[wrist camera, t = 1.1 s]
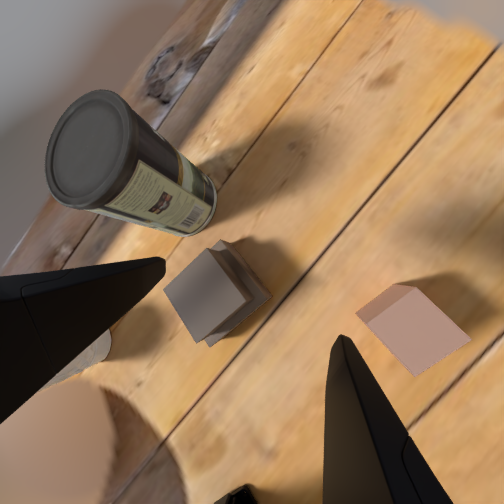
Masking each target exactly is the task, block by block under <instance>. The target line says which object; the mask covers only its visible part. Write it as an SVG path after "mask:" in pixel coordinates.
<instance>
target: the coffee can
mask: <svg viewBox="0 0 504 504" xmlns="http://www.w3.org/2000/svg"><path fill="white" fill-rule="evenodd" d="M45 177H46V182H47V185H48V188H49V191H50V193H51V194H52V196H53V197H54V198H55V200H56V201H58V202H59V203H60V204H62V205H64V206H66V207H70V208H74V209H79V210H88V211H91V212H95V213H98V214H102V215H106V216H109V217H113V218H116V219H120V220H124V221H127V222H131V223H134V224H138V225H142V226H145V227H149V228H153V229H156V230H160V231H164V232H167V233H171V234H173V235H176V236H181V237H186V236H191V235H194V234H196V233H198V232H200V231H201V230H202V229H203V228H204V227H205V226H206V225H207V224H208V223H209V222H210V220H211V218H212V217H213V214H214V212H215V209H216V204H217V194H216V189H215V186H214V184H213V182H212V181H211V179H210V178H209V177H208V176H207V175H205V174H204V173H203V172H202V171H200V170H199V169H198V168H197V167H196V166H195V165H194V164H192V163H191V162H190V161H189V160H188V159H187V158H186V157H184V156H183V155H182V154H181V153H180V152H179V151H178V150H177V149H176V148H174V147H173V146H172V145H171V144H170V143H169V142H168V141H167V140H166V139H164V138H163V137H162V136H161V135H160V134H159V133H158V132H157V131H156V130H154V129H153V128H152V127H151V126H150V125H149V124H148V123H147V122H146V121H145V120H143V119H142V118H141V117H140V116H139V115H138V114H137V113H136V112H135V111H133V110H132V109H131V107H130V106H129V105H128V103H127V102H126V101H125V100H124V99H123V98H122V97H120V96H119V95H118V94H116V93H115V92H112V91H109V90H95V91H91V92H89V93H87V94H85V95H83V96H81V97H80V98H79V99H77V100H76V101H75V102H73V103H72V104H71V105H70V106H69V107H68V108H67V110H66V111H65V112H64V114H63V115H62V116H61V118H60V119H59V121H58V122H57V125H56V126H55V128H54V130H53V132H52V134H51V137H50V140H49V143H48V146H47V151H46V157H45Z"/></svg>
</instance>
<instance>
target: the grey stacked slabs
mask: <svg viewBox="0 0 504 504" xmlns="http://www.w3.org/2000/svg"><path fill="white" fill-rule="evenodd" d="M163 290H164V292H165V294H166V295H167V297H168V298H169V300H170V302H171V303H172V305H173V307H174V308H175V310H176V311H177V313H178V315H179V316H180V318H181V319H182V321H183V323H184V324H185V326H186V328H187V329H188V331H189V332H190V334H191V336H192V337H193V339H194V341H195V342H196V344H197V343H198V342H200V341H202V340H203V339H204V340H205V341H206V343H207V344H208V346H209V347H211V346H213V345H214V344H216V343H217V342H218V341H220V340H221V339H222V338H224V337H225V336H226V335H227V334H228V333H230V332H231V331H232V330H233V329H234V328H236V327H237V326H238V325H239V324H240V323H241V322H243V321H244V320H245V319H246V318H247V317H249V316H250V315H251V314H252V313H253V312H255V311H256V310H257V309H258V308H259V307H261V306H262V305H263V304H264V303H265V302H267V301H268V300H269V299H270V298H271V297H272V295H271V293H270V292H269V291H268V290H267V288H266V287H265V286H264V285H263V283H262V282H261V281H260V280H259V278H258V277H257V276H256V275H255V273H254V272H253V271H252V270H251V268H250V267H249V266H248V265H247V263H246V262H245V261H244V260H243V258H242V257H241V256H240V255H239V253H238V252H237V251H236V250H235V248H234V247H233V246H232V245H231V243H229V242H226V241H223V240H221V239H220V240H219V241H218V242H217V243H216V244H215V245H214V246H213V247H212V248H211V249H209V248H206V249H205V250H204V251H203V252H202V253H201V254H200V255H199V256H198V257H196V258H195V259H194V260H193V261H192V262H191V263H190V264H189V265H188V266H187V267H186V268H185V269H184V270H183V271H182V272H181V273H180V274H179V275H178V276H177V277H176V278H174V279H173V280H172V281H171V282H170V283H169V284H168V285H167V286H166V287H165V288H164V289H163Z"/></svg>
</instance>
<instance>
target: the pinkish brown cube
mask: <svg viewBox="0 0 504 504" xmlns="http://www.w3.org/2000/svg"><path fill="white" fill-rule="evenodd" d="M355 314H356V315H357V316H358V317H359V318H360V319H361V320H362V321H363V323H364V324H365V325H366V326H367V327H368V328H369V329H370V330H371V331H372V332H373V333H374V335H375V336H376V337H377V338H378V339H379V340H380V341H381V342H382V343H383V344H384V346H385V347H386V348H387V349H388V350H389V351H390V352H391V353H392V354H393V355H394V356H395V357H396V358H397V359H398V360H399V361H400V362H401V363H402V364H403V366H404V367H405V368H406V369H407V370H408V371H409V372H410V373H411V374H412V375H413V376H414V377H416V376H417V375H419V374H420V373H422V372H424V371H425V370H427V369H428V368H430V367H431V366H433V365H434V364H436V363H437V362H439V361H440V360H442V359H443V358H445V357H446V356H448V355H449V354H451V353H452V352H454V351H455V350H457V349H459V348H460V347H462V346H463V345H465V344H466V343H468V342H469V341H471V340H472V339H471V338H470V337H469V336H468V335H467V334H466V333H465V332H464V331H462V330H461V329H460V328H459V327H458V326H457V325H456V324H455V323H454V322H453V321H452V320H451V319H450V318H449V317H448V316H447V315H445V314H444V313H443V312H442V311H441V310H440V309H439V308H438V307H437V306H436V305H435V304H434V303H433V302H432V301H431V300H430V299H428V298H427V297H426V296H425V295H424V294H423V293H422V292H421V291H420V290H419V289H418V288H417V287H412V286H405V285H397V284H393V285H392V286H390V287H389V288H388V289H386V290H385V291H384V292H382V293H381V294H380V295H378V296H377V297H376V298H374V299H373V300H372V301H370V302H369V303H368V304H366V305H365V306H364V307H362V308H361V309H360V310H359V311H357V312H356V313H355Z"/></svg>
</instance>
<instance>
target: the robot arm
mask: <svg viewBox="0 0 504 504" xmlns="http://www.w3.org/2000/svg"><path fill="white" fill-rule="evenodd" d="M165 273H166V261H165V259H163V258H161V257H151V258H143V259H136V260H129V261H122V262H115V263H108V264H101V265H94V266H86V267H79V268H75V269H74V268H72V269H65V270H57V271H50V272H41V273H31V274H21V275H11V276H0V424H1V423H2V422H3V421H4V420H6V419H7V418H8V417H9V416H10V415H11V414H13V413H14V412H15V411H16V410H17V409H18V408H19V407H20V406H21V405H23V404H24V403H25V402H26V401H27V400H28V399H30V398H31V397H32V396H33V395H34V394H35V393H36V392H37V391H39V390H40V389H41V388H42V387H43V386H44V385H45V384H47V383H48V382H49V381H50V380H51V379H52V378H53V377H55V376H56V374H58V373H59V372H60V371H61V370H62V369H63V368H65V367H66V366H67V365H68V364H69V363H70V362H71V361H73V360H74V359H75V358H76V357H77V356H78V355H79V354H80V353H82V352H83V351H84V350H85V349H86V348H87V347H88V346H90V345H91V344H92V343H93V342H94V341H95V340H96V339H98V338H99V337H100V336H101V335H102V334H103V333H104V332H105V331H107V330H108V329H109V328H110V327H111V326H112V325H113V324H115V323H116V322H117V321H118V320H119V319H120V318H121V317H123V316H124V315H125V314H126V313H127V312H128V311H129V310H130V309H132V308H133V307H134V306H135V305H136V304H137V303H138V302H140V301H141V300H142V299H143V298H144V297H145V296H146V295H147V294H148V293H149V292H150V291H151V290H152V289H153V287H154V286H155V285H156V284H157V283H158V282H159V281H160V280H161V279H162V278H163V277H164V275H165ZM408 435H409V433H408V432H407V430H406V428H405V427H404V425H403V423H402V422H401V420H400V418H399V417H398V415H397V413H396V412H395V410H394V409H393V407H392V405H391V404H390V402H389V400H388V399H387V397H386V395H385V394H384V392H383V390H382V389H381V387H380V385H379V384H378V382H377V381H376V379H375V377H374V376H373V374H372V372H371V371H370V369H369V367H368V366H367V364H366V362H365V361H364V359H363V358H362V356H361V354H360V353H359V351H358V349H357V348H356V346H355V344H354V343H353V341H352V340H351V338H349V337H347V336H345V335H342V334H341V335H339V336H338V338H337V339H336V341H335V343H334V344H333V346H332V348H331V353H330V360H329V367H328V374H327V381H326V391H325V427H324V465H323V503H322V504H453V502H452V501H451V499H450V498H449V496H448V495H447V493H446V492H445V490H444V489H443V487H442V486H441V484H440V483H439V481H438V480H437V478H436V477H435V475H434V473H433V472H432V470H431V469H430V467H429V465H428V464H427V462H426V461H425V459H424V457H423V456H422V454H421V453H420V451H419V449H418V448H417V446H416V445H415V443H414V441H413V440H412V438H411V437H410V436H408ZM244 491H245V492H246V493H245V492H244ZM214 504H257V502H256V500H255V498H254V497H253V495H252V493H251V491H250V490H249V488H248V487H247V486H246V485H244V486H242V487H240V488H239V489H237V490H236V491H234V492H233V493H228V494H227V495H225V496H224V497H222V498H221V499H219V500H218V501H216V502H215V503H214Z"/></svg>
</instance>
